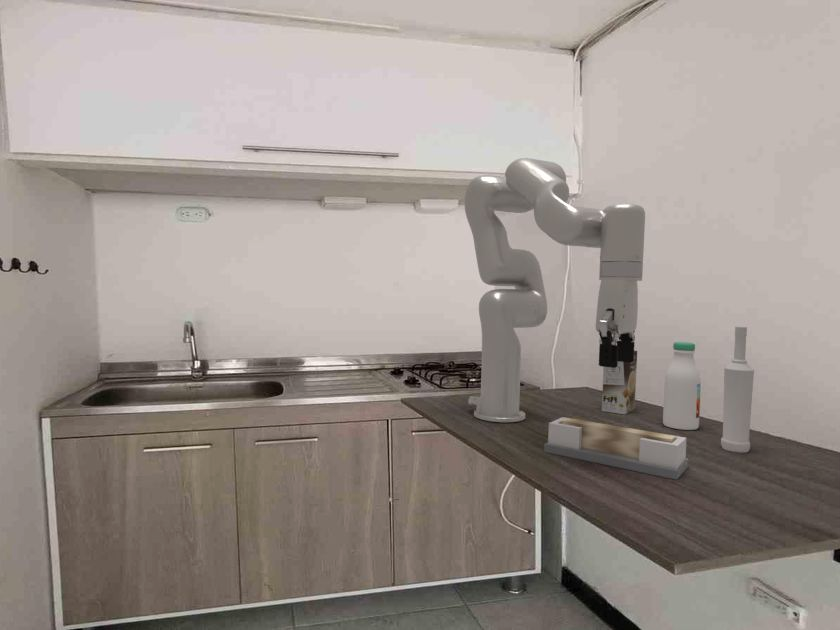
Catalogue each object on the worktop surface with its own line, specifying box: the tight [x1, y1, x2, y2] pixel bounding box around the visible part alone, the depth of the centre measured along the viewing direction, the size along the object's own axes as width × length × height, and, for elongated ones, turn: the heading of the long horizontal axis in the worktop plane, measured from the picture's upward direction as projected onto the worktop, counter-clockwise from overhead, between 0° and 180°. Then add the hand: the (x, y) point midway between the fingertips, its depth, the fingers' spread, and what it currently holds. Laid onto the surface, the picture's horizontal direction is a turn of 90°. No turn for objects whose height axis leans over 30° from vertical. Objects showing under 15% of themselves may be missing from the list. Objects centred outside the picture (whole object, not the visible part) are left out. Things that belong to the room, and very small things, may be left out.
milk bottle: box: [662, 341, 702, 431], centre depth 129 cm, size 8×8×20 cm
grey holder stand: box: [543, 416, 690, 481], centre depth 103 cm, size 24×9×6 cm, turn 53°
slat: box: [562, 417, 676, 458], centre depth 102 cm, size 20×3×4 cm, turn 53°
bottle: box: [720, 326, 755, 454], centre depth 111 cm, size 5×5×25 cm
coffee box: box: [601, 350, 638, 415], centre depth 146 cm, size 9×6×16 cm
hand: (616, 364), depth 102 cm, fingers open, 9 cm apart
